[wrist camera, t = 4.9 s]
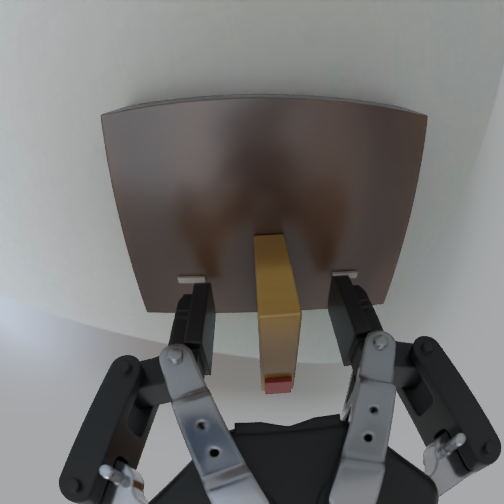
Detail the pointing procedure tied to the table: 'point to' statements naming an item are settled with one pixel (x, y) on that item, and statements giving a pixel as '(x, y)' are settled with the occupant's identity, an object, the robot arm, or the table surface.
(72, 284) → the table surface
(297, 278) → the plate
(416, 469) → the robot arm
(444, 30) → the table surface
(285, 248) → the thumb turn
